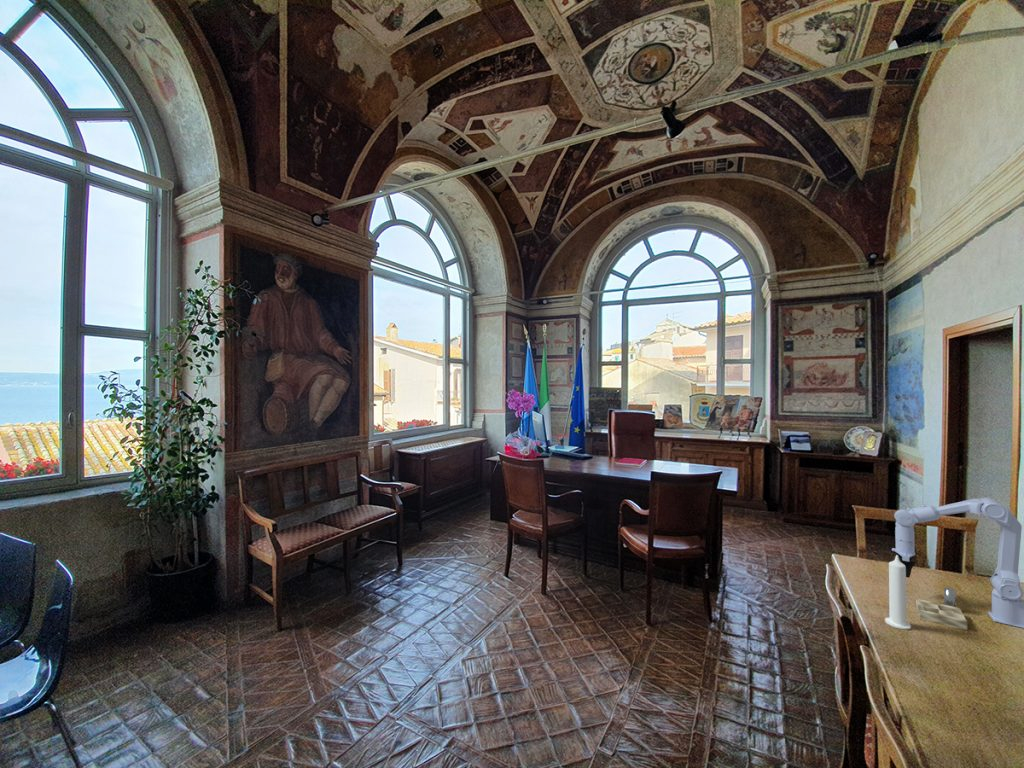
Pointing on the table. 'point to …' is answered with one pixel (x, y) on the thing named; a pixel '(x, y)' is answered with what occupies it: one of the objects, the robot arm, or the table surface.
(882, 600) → the table surface
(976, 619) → the table surface
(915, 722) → the table surface
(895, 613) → the candle
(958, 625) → the socket block
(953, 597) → the pin
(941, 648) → the table surface
